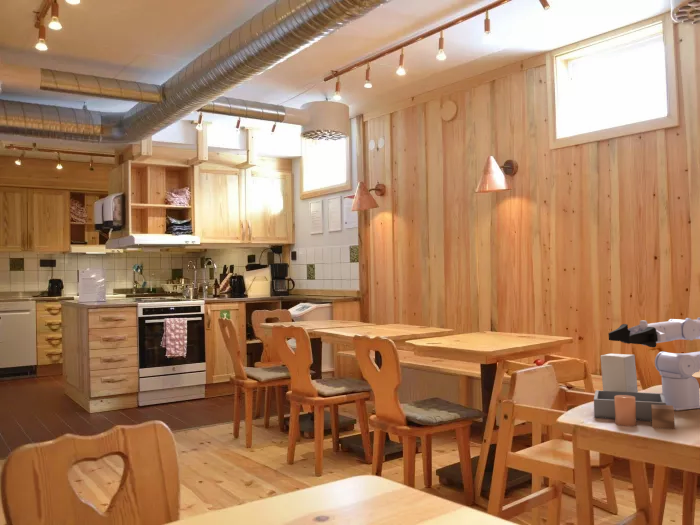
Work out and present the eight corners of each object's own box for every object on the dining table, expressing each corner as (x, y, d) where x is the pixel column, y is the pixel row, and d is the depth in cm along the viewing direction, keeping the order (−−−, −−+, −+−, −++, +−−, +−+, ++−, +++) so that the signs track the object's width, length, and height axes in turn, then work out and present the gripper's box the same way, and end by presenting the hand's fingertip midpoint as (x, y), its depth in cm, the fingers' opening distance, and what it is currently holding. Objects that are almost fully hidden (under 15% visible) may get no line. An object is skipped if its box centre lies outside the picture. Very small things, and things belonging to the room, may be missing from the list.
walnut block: (673, 424, 160) (672, 405, 160) (674, 429, 156) (674, 409, 156) (651, 423, 162) (651, 404, 162) (652, 428, 158) (651, 408, 158)
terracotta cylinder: (626, 420, 166) (626, 394, 166) (640, 424, 161) (639, 397, 161) (611, 422, 164) (610, 395, 164) (624, 426, 159) (623, 399, 160)
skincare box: (639, 405, 184) (637, 354, 184) (627, 407, 181) (625, 356, 181) (613, 400, 191) (611, 352, 191) (601, 403, 188) (599, 353, 188)
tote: (663, 411, 175) (662, 393, 175) (666, 422, 163) (665, 403, 163) (596, 407, 182) (595, 390, 182) (594, 417, 170) (593, 399, 170)
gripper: (636, 317, 185) (600, 321, 180) (677, 320, 171) (638, 326, 167) (638, 340, 185) (601, 345, 180) (678, 346, 171) (640, 352, 167)
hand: (619, 338), depth 174 cm, fingers open, 7 cm apart
